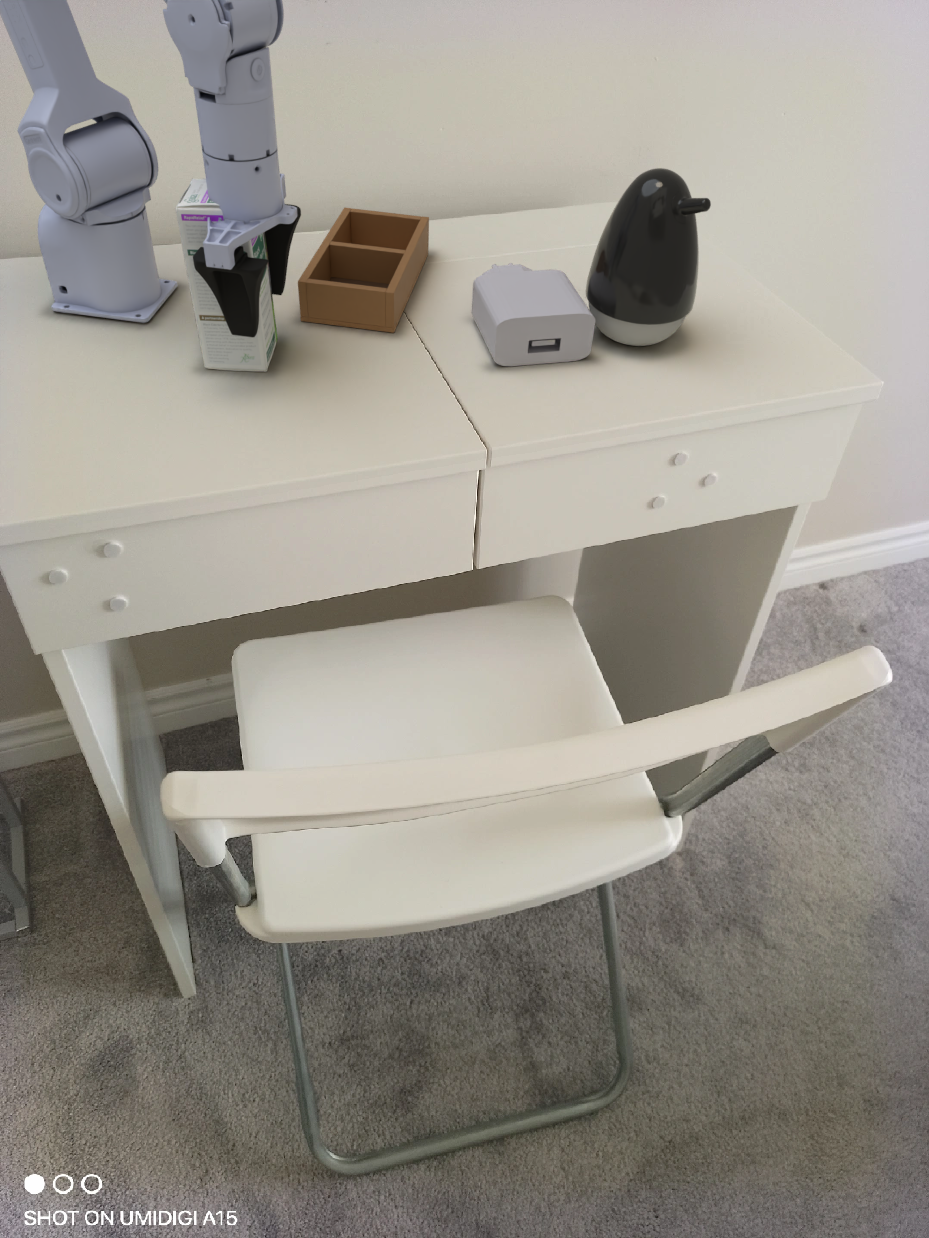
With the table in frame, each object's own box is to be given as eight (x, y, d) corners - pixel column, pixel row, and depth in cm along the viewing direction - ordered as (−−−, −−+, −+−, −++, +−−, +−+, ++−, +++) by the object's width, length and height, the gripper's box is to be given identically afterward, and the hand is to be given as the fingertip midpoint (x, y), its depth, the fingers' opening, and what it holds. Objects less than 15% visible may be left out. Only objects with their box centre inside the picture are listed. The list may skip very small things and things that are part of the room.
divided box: (300, 321, 91) (297, 281, 88) (345, 244, 103) (344, 207, 100) (394, 333, 90) (393, 293, 87) (428, 254, 102) (429, 217, 99)
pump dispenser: (638, 372, 87) (672, 204, 76) (558, 327, 92) (579, 163, 82) (708, 339, 92) (749, 177, 81) (628, 297, 97) (656, 140, 87)
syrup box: (268, 373, 84) (250, 207, 74) (201, 370, 84) (173, 203, 74) (278, 340, 88) (262, 179, 78) (214, 337, 88) (189, 175, 78)
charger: (543, 285, 98) (589, 360, 88) (456, 291, 97) (493, 368, 86) (548, 240, 95) (597, 312, 85) (458, 245, 93) (497, 319, 83)
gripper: (261, 190, 68) (278, 360, 77) (315, 122, 78) (324, 280, 87) (165, 178, 68) (194, 349, 78) (232, 113, 78) (250, 271, 88)
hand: (258, 312), depth 83 cm, fingers open, 7 cm apart
